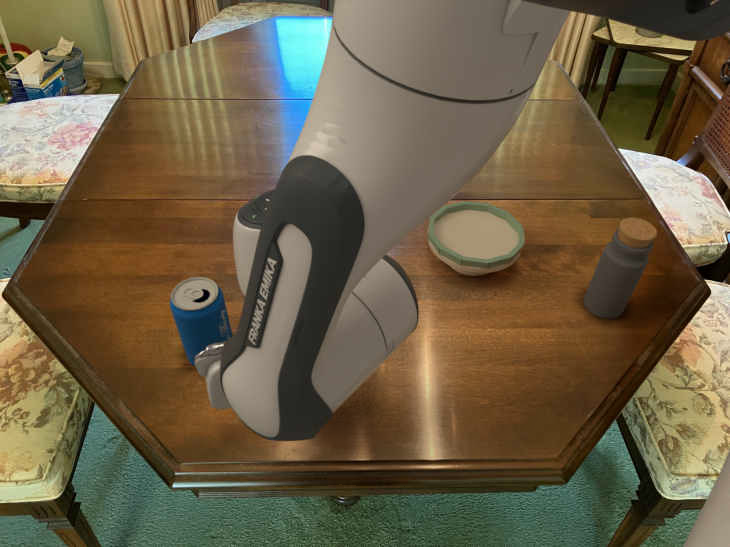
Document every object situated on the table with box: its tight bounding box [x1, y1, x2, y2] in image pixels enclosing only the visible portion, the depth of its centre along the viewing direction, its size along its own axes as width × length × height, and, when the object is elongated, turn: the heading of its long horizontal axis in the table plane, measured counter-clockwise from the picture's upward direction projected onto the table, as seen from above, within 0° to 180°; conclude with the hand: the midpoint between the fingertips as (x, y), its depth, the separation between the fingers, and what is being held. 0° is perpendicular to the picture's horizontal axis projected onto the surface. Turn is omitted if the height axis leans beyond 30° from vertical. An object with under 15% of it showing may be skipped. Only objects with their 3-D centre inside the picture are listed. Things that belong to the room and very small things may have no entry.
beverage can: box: [169, 276, 234, 367], centre depth 72 cm, size 6×6×12 cm
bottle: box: [583, 217, 658, 320], centre depth 78 cm, size 6×6×15 cm
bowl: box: [426, 200, 526, 277], centre depth 88 cm, size 15×15×6 cm
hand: (299, 398), depth 68 cm, fingers closed on lemon, 5 cm apart
